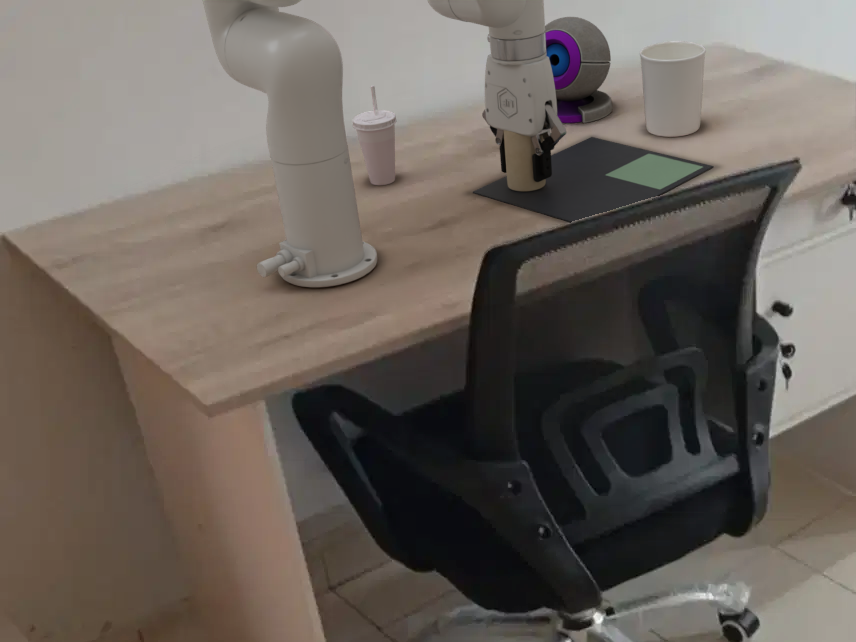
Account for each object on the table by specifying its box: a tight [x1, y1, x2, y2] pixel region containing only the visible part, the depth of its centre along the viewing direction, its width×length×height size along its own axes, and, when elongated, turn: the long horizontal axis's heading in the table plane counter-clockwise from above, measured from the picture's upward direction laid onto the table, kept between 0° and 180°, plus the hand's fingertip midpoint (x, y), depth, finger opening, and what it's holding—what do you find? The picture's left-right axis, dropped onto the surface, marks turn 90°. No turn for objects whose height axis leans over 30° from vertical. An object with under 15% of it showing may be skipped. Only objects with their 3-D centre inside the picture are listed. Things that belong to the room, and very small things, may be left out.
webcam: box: [545, 16, 613, 124], centre depth 200 cm, size 13×13×15 cm
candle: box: [504, 130, 546, 191], centre depth 175 cm, size 6×6×10 cm
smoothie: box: [351, 85, 397, 186], centre depth 181 cm, size 6×6×14 cm
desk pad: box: [472, 136, 714, 223], centre depth 178 cm, size 26×23×1 cm
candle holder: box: [639, 40, 707, 138], centre depth 190 cm, size 10×10×12 cm
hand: (526, 173), depth 177 cm, fingers closed on candle, 5 cm apart
